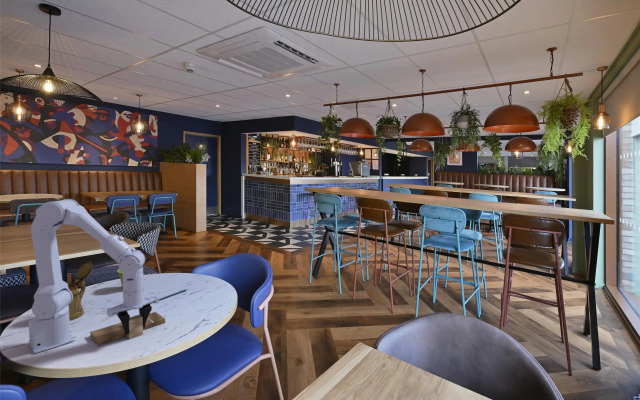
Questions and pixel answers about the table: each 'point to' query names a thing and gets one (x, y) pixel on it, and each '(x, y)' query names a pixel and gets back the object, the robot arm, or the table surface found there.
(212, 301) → the table surface
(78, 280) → the wooden mug
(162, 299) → the pencil
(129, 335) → the marking gauge
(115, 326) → the walnut board
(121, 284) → the plant pot
